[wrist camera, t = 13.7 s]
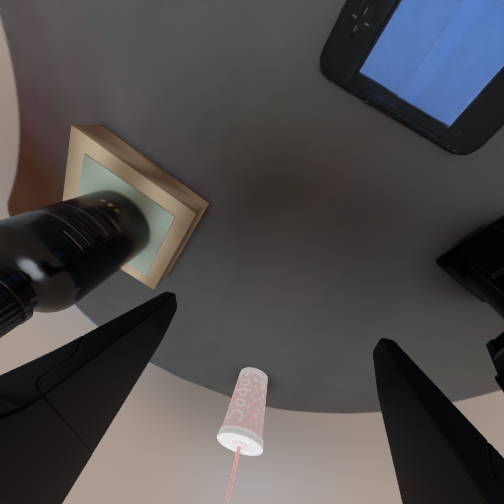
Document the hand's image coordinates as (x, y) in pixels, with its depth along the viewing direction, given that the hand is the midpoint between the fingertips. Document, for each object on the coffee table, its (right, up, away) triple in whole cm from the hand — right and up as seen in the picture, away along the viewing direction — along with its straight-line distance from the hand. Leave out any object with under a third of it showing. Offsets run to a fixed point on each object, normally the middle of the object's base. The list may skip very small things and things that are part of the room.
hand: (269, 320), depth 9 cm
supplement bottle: (-14, +6, +12) cm, 19 cm away
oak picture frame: (-13, +7, +14) cm, 21 cm away
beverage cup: (0, -17, +26) cm, 31 cm away
